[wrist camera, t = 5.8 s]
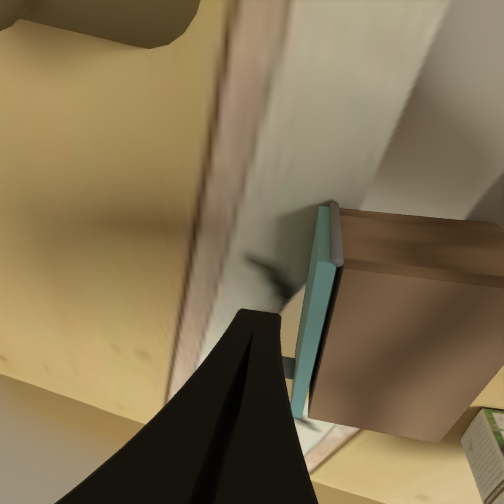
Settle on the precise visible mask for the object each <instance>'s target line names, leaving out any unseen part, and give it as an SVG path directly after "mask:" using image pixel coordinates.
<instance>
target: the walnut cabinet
mask: <svg viewBox="0 0 504 504" xmlns="http://www.w3.org/2000/svg"><path fill="white" fill-rule="evenodd" d="M339 211H340V223H341V234H342V246H343V258H344V264H343V265H342V266H340V267H336V271H335V275H334V280H333V284H332V288H331V293H330V297H329V301H328V305H327V310H326V314H325V318H324V323H323V327H322V331H321V336H320V340H319V344H318V349H317V353H316V357H315V362H314V366H313V370H312V374H311V379H310V383H309V402H308V418H310V419H315V420H320V421H325V422H330V423H335V424H340V425H346V426H351V427H356V428H361V429H366V430H371V431H376V432H381V433H386V434H391V435H396V436H401V437H406V438H411V439H416V440H421V441H426V442H431V443H436V444H438V443H439V442H440V441H441V440H442V439H443V437H444V436H445V435H446V434H447V432H448V431H449V430H450V429H451V428H452V426H453V425H454V424H455V423H456V422H457V420H458V419H459V418H460V417H461V416H462V414H463V413H464V412H465V411H466V410H467V408H468V407H469V406H470V405H471V404H472V402H473V401H474V400H475V399H476V398H477V396H478V395H479V394H480V393H481V391H482V390H483V389H484V388H485V387H486V385H487V384H488V383H489V382H490V381H491V379H492V378H493V377H494V376H495V375H496V373H497V372H498V371H499V370H500V369H501V367H502V366H503V365H504V232H503V231H502V230H501V229H500V228H499V227H498V226H497V225H496V224H495V223H485V222H474V221H464V220H453V219H443V218H433V217H422V216H412V215H401V214H391V213H381V212H370V211H360V210H350V209H339Z"/></svg>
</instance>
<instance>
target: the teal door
mask: <svg viewBox="0 0 504 504" xmlns="http://www.w3.org/2000/svg"><path fill="white" fill-rule="evenodd" d="M343 264H344V258H343V246H342V234H341V223H340V211H339V203H338V202H336V201H333V202H331V203H330V207H328V206H319V210H318V216H317V222H316V228H315V234H314V240H313V246H312V252H311V258H310V264H309V271H308V277H307V283H306V290H305V295H304V301H303V307H302V313H301V319H300V325H299V331H298V337H297V343H296V350H295V358H290V357H284V356H282V362H283V368H284V375H285V378H288V379H293V381H292V392H291V403H290V406H291V410H292V415H293V417H297V418H302V413H303V409H304V405H305V400H306V396H307V392H308V387H309V383H310V379H311V374H312V370H313V366H314V362H315V357H316V353H317V349H318V344H319V340H320V336H321V331H322V327H323V323H324V318H325V314H326V310H327V305H328V301H329V297H330V293H331V288H332V284H333V280H334V275H335V271H336V267H340V266H342V265H343Z"/></svg>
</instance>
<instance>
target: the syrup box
mask: <svg viewBox="0 0 504 504" xmlns="http://www.w3.org/2000/svg"><path fill="white" fill-rule="evenodd" d="M461 443H462V446H463V449H464V452H465V455H466V457H467V460H468V463H469V465H470V468H471V471H472V473H473V476H474V479H475V482H476V485H477V488H478V491H479V493H480V496H481V499H482V502H483V504H504V411H499V410H492V409H481V410H480V412H479V413H478V414H477V415H476V416H475V418H474V419H473V421H472V422H471V423H470V425H469V427H468V428H467V430H466V431H465V433H464V434H463V436H462V437H461Z"/></svg>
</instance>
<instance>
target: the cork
mask: <svg viewBox="0 0 504 504" xmlns="http://www.w3.org/2000/svg"><path fill="white" fill-rule="evenodd" d="M199 3H200V0H0V31H1V30H4V29H6V28H8V27H11V26H12V25H13V24H14V23H15V22H16V21H17V20H18V19H19V18H20V19H24V20H28V21H33V22H37V23H41V24H45V25H49V26H53V27H57V28H62V29H66V30H70V31H74V32H78V33H82V34H87V35H91V36H95V37H99V38H103V39H107V40H112V41H116V42H120V43H124V44H128V45H133V46H138V47H144V48H149V49H151V48H156V47H160V46H164V45H168V44H170V43H171V42H172V41H174V40H175V39H176V38H178V37H179V36H181V35H182V34H183V33H184V32H185V31H186V29H187V28H188V26H189V24H190V23H191V21H192V20H193V18H194V17H195V15H196V13H197V10H198V6H199Z"/></svg>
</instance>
